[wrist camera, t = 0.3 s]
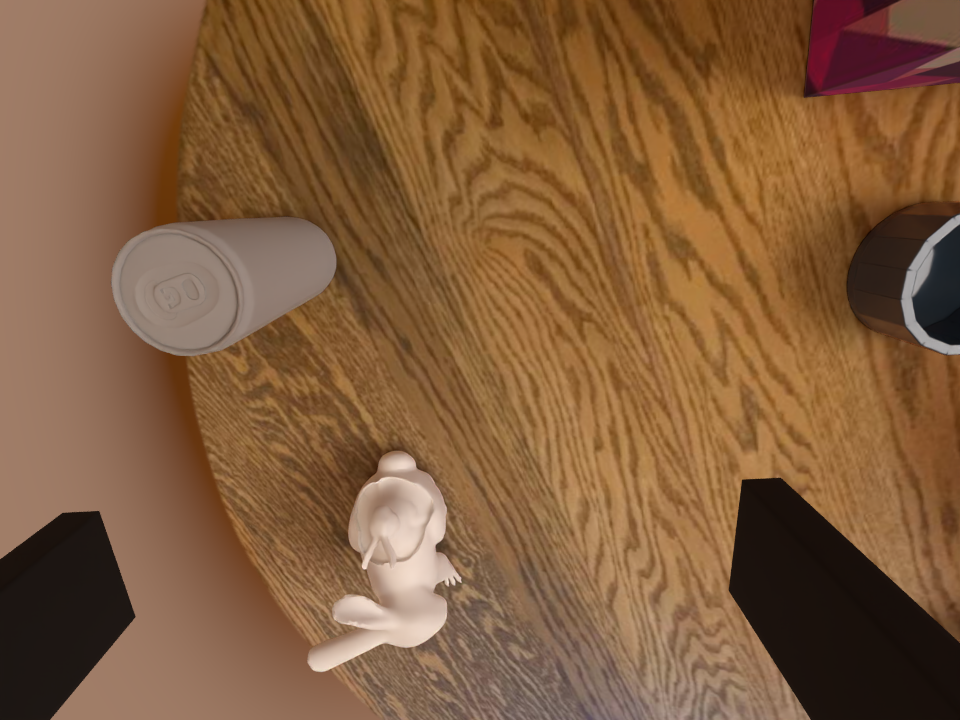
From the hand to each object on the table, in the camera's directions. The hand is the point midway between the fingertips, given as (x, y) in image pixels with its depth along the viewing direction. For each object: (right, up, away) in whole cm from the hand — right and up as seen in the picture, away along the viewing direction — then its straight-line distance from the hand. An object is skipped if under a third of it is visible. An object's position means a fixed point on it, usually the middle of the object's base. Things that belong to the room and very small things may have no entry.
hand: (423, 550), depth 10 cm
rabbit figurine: (-5, -7, +24) cm, 25 cm away
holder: (+27, +9, +19) cm, 34 cm away
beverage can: (-9, +10, +19) cm, 23 cm away
